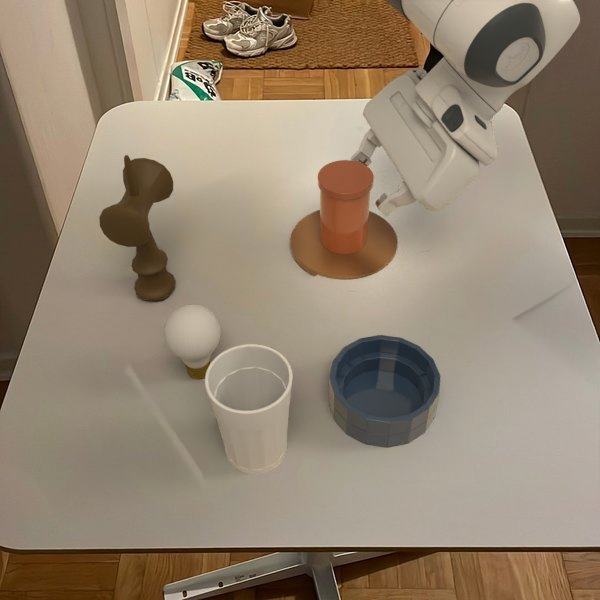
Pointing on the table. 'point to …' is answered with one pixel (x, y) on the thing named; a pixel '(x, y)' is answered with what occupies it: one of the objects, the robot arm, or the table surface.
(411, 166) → the robot arm
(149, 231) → the kendama
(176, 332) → the light bulb
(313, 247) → the disc
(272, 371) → the cup
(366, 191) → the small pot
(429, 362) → the bowl
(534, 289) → the table surface
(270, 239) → the table surface
